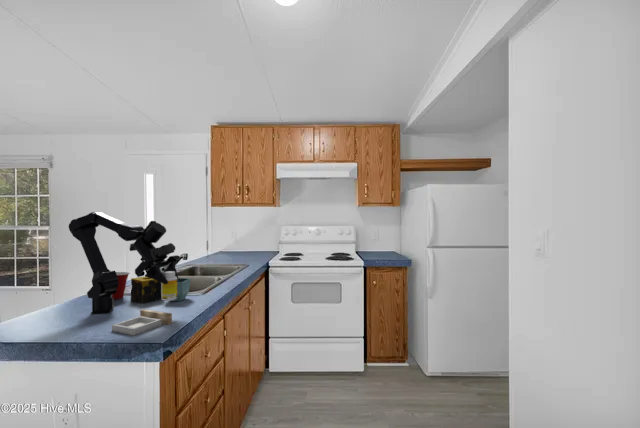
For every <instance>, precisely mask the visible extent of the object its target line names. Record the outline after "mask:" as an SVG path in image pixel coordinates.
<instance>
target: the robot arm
mask: <svg viewBox="0 0 640 428" xmlns="http://www.w3.org/2000/svg"><path fill="white" fill-rule="evenodd" d="M99 226H101V227H104V228H105V229H108V230H110V231H113V232H115V233H116V234H117V235H118V237H120V238H121V239H122V240H123V241H125V242H133V241H134V242H133V243H130V246H129V251H130V252H135V251H137V253H138V254H139V256H141V258H140V261H141V262H140V263H139V264H138V266H137V267H135V269H134V275H136V276H137V277H136V278H138V277H149V278H152V279H154V280H157V281H159V282H161V283H164V284H167V283H168V281H167V279H166V278H165V276H164V272H167V271H175V276H176V277H177V281H178V280H179V276H178V273H177V268H176V266H177V265H178V264H179V263H180V262H181V260H182V258H181V257H180V256H179V255H178V254H177V255H175V254H174V255H170V254H172V253H175V251H176V245H174V244H173V243H172V242H170V243H167V244H164V245H162V246H159V247H155V246H154V244H156V243H158V242H159V241H160V240H161V239H162V237H163V236H164V235H165V234H166V233H167V229H166V227H165V226H164V225H162V224H161V223H159V222H157V221H155V220H150V221H149V223H148V224H147V225H146V227H145V228H144V227H143V226H142V225H137V224H133V223H126V222H124V221H121V220H119V219H117V218H115V217H112V216H109V215H108V214H105V213H104V212H101V211H92V212H90V213H88V214H86V215H84V216H80V217H77V218H73V219H72V220H71V221H70V222H69V224H68V230H69V231H70V234H71V235H72V236H73V238H75V239H76V240H77V241H79V242H80V245H81V246H82V249H83V251H84V254H85V257H86V258H87V259H86V260H87V261H88V264H89V266H90V268H91V271H92V274H93V276H92V279H91V283H92V287H91V288H89V290H88V291H87V292H86V295H87V298H89V299H91V312H90V314H91V315H94V314H95V315H96V314H106V313H111V312H112V310H113V309H115V300H114V298H112V294H116V291H117V288H118V285H119V281H118V280H119V278H118V277H117V274H116V272H117V271H116V270H110V269H108V267H107V264H106V261H105V260H104V256H103V254H102V252H101V249H100V247H99V245H98V242H97V240H96V233H97V229H96V228H98V227H99ZM169 255H170V256H169ZM168 256H169V257H168ZM161 268H163V269H164V270H163V272H162V271H161Z"/></svg>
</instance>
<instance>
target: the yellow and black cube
mask: <svg viewBox="0 0 640 428" xmlns="http://www.w3.org/2000/svg"><path fill="white" fill-rule="evenodd" d="M130 281H131V283H130V285H131V291H130V301H131V302H135V303H138V304H147V303H151V302H156V301H160V300H162V299H161V282H159V281H157V280H154V279H152V278H149V277H145V276H140V277H132V278H130Z"/></svg>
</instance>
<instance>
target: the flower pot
mask: <svg viewBox="0 0 640 428" xmlns="http://www.w3.org/2000/svg"><path fill="white" fill-rule="evenodd" d="M178 278H179V277H178ZM191 280H192V279H191V278H189V277H188V278H187V277H186V278H179V280H178V281H177V298H176V299H175V300H170V302H181V301H183V300H184V299H186V297H187V296H188V294H189V292H190V286H191Z"/></svg>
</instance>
